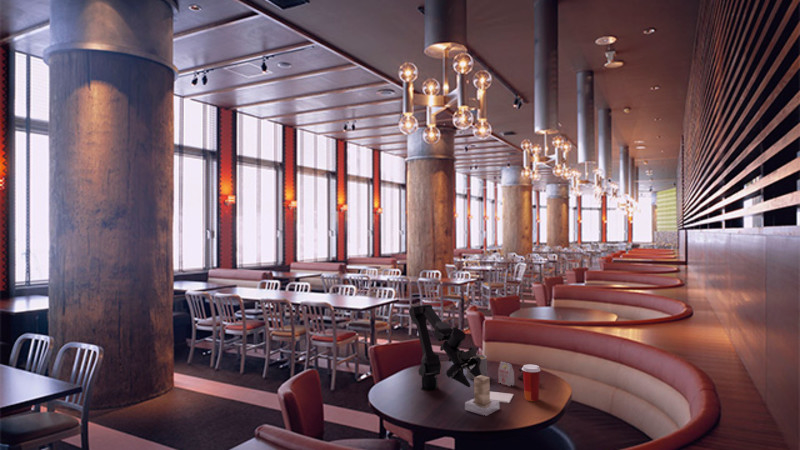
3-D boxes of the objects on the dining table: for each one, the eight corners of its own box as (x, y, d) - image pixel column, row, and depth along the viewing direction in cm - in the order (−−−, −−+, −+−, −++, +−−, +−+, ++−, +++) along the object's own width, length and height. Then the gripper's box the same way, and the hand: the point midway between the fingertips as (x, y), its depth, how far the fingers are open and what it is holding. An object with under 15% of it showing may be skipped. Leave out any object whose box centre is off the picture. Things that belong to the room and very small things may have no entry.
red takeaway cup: (546, 371, 229) (525, 366, 243) (533, 369, 226) (513, 364, 240) (544, 386, 228) (523, 380, 241) (531, 385, 225) (511, 378, 239)
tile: (476, 399, 212) (476, 397, 212) (482, 391, 221) (482, 390, 221) (509, 403, 206) (509, 401, 206) (513, 395, 216) (513, 394, 216)
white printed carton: (503, 381, 236) (502, 360, 236) (514, 384, 230) (513, 363, 230) (498, 383, 233) (497, 361, 234) (509, 386, 228) (508, 365, 228)
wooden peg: (474, 409, 200) (473, 377, 200) (480, 406, 203) (480, 375, 203) (483, 412, 197) (483, 379, 197) (490, 409, 200) (489, 377, 200)
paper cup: (541, 397, 213) (540, 364, 213) (540, 403, 206) (539, 369, 206) (522, 395, 216) (522, 363, 216) (521, 401, 208) (520, 368, 209)
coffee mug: (491, 377, 242) (490, 357, 242) (476, 381, 237) (475, 360, 237) (472, 371, 253) (472, 351, 253) (458, 374, 248) (457, 354, 248)
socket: (465, 409, 199) (464, 402, 200) (478, 403, 207) (478, 396, 207) (486, 416, 193) (485, 408, 193) (499, 408, 200) (499, 401, 200)
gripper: (451, 345, 199) (474, 378, 191) (477, 337, 212) (500, 367, 205) (436, 361, 204) (458, 394, 196) (462, 353, 217) (484, 382, 210)
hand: (476, 384), depth 202 cm, fingers open, 9 cm apart
